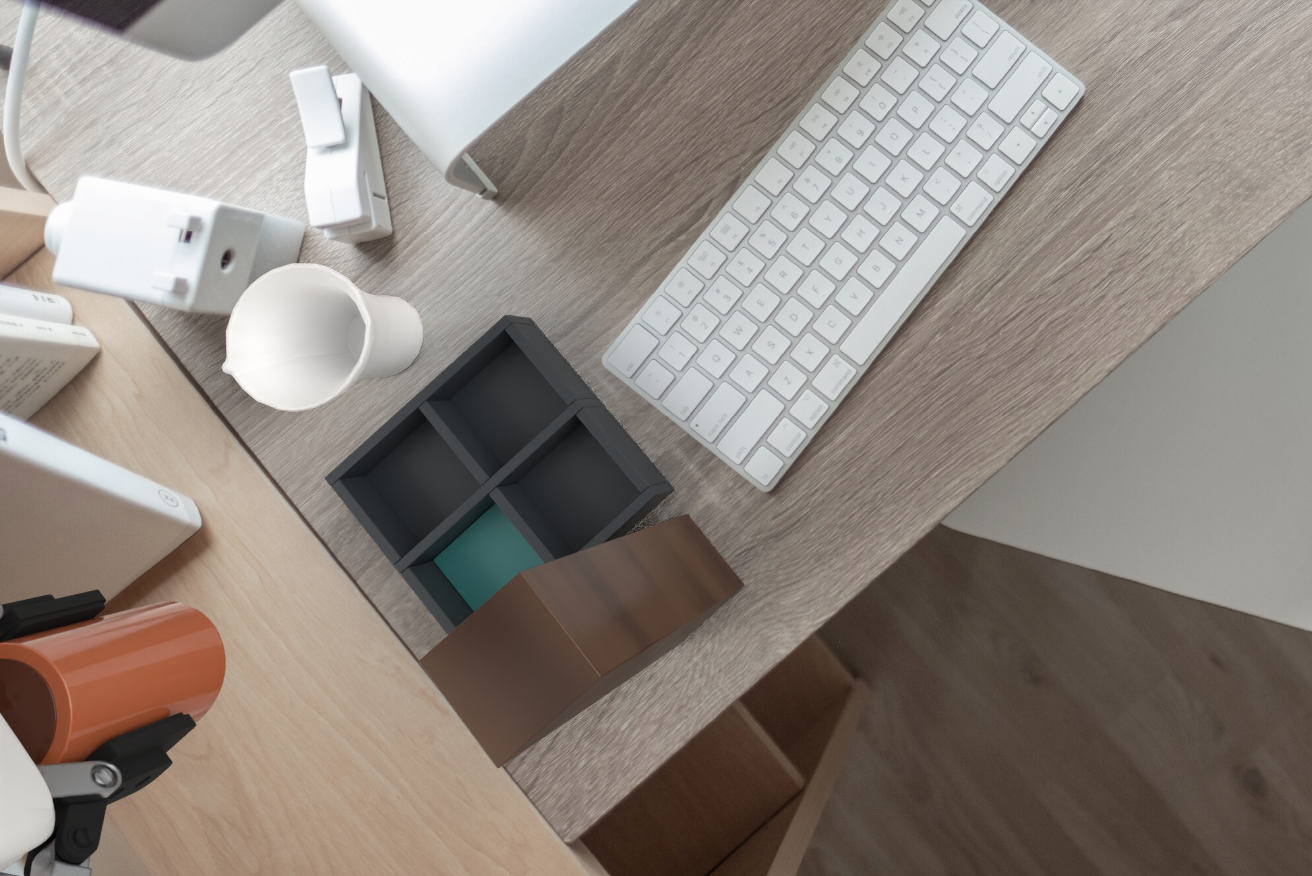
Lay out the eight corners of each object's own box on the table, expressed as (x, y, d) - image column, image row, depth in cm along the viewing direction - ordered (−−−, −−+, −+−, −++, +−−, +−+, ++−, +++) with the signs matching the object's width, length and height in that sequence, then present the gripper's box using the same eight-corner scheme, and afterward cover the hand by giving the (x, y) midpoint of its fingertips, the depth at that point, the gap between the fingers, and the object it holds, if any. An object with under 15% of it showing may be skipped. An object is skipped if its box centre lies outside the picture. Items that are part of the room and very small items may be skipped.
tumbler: (203, 750, 47) (40, 822, 39) (84, 717, 47) (-100, 782, 39) (243, 618, 47) (89, 664, 40) (125, 587, 48) (-49, 626, 40)
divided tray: (675, 489, 77) (656, 494, 73) (498, 652, 76) (470, 665, 72) (530, 317, 79) (505, 314, 75) (357, 473, 78) (323, 478, 75)
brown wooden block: (674, 648, 75) (497, 769, 52) (617, 575, 76) (416, 661, 52) (745, 585, 76) (601, 677, 52) (687, 513, 76) (520, 571, 53)
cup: (304, 306, 80) (197, 295, 70) (431, 257, 80) (342, 239, 70) (339, 430, 79) (236, 436, 69) (468, 379, 79) (384, 379, 69)
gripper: (-811, 707, 28) (-80, 576, 46) (-450, 1327, 26) (171, 933, 43) (-556, 492, 28) (70, 446, 46) (-177, 1084, 26) (327, 793, 44)
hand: (115, 684), depth 45 cm, fingers closed on tumbler, 5 cm apart
